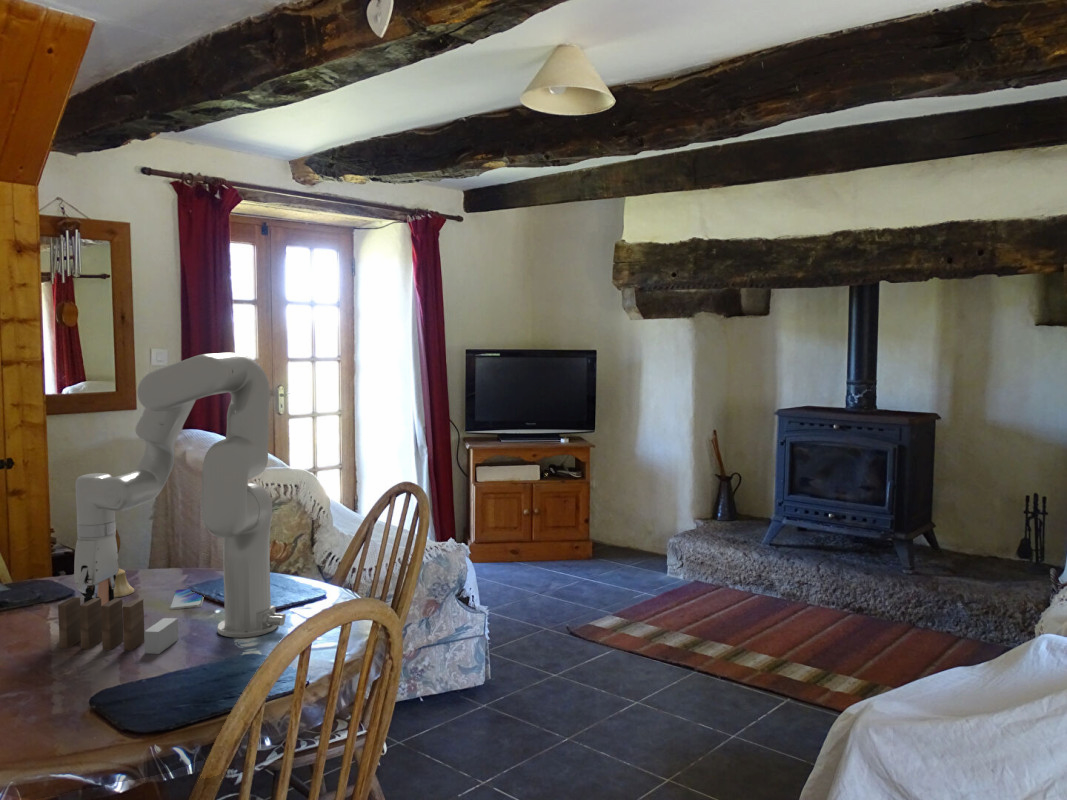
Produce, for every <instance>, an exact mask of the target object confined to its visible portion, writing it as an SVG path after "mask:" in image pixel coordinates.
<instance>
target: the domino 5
mask: <svg viewBox="0 0 1067 800" xmlns="http://www.w3.org/2000/svg"><path fill="white" fill-rule="evenodd" d="M144 608H145V607H144V599H143V598H135V599H133V600H132V601H130V602H128V603H126V604H125V605H122V609H123V637H124V641H123V649H124V651H133V650H134V649H136V648H137V647H139V646H140V645H142V644H143V643H145V642H144V631H145V615H144V613H145V609H144Z"/></svg>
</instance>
